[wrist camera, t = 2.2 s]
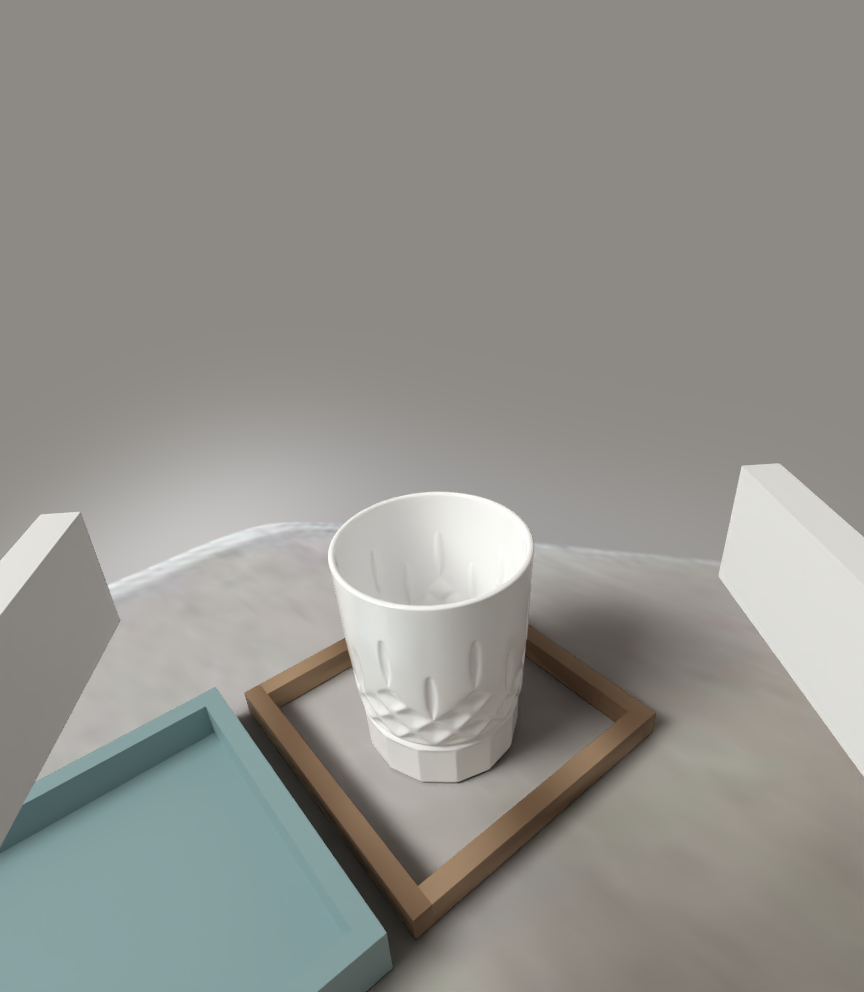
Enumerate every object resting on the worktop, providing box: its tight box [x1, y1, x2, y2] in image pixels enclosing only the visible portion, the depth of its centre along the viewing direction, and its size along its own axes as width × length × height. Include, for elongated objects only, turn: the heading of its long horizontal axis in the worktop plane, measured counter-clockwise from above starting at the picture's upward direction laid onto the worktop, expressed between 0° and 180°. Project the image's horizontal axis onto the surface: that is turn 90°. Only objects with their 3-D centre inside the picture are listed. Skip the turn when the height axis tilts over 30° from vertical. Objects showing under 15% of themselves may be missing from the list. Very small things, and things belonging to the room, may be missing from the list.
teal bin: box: [0, 687, 393, 992], centre depth 22 cm, size 14×14×2 cm
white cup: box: [328, 492, 534, 782], centre depth 28 cm, size 8×8×10 cm
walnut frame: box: [245, 625, 656, 939], centre depth 30 cm, size 13×13×1 cm
